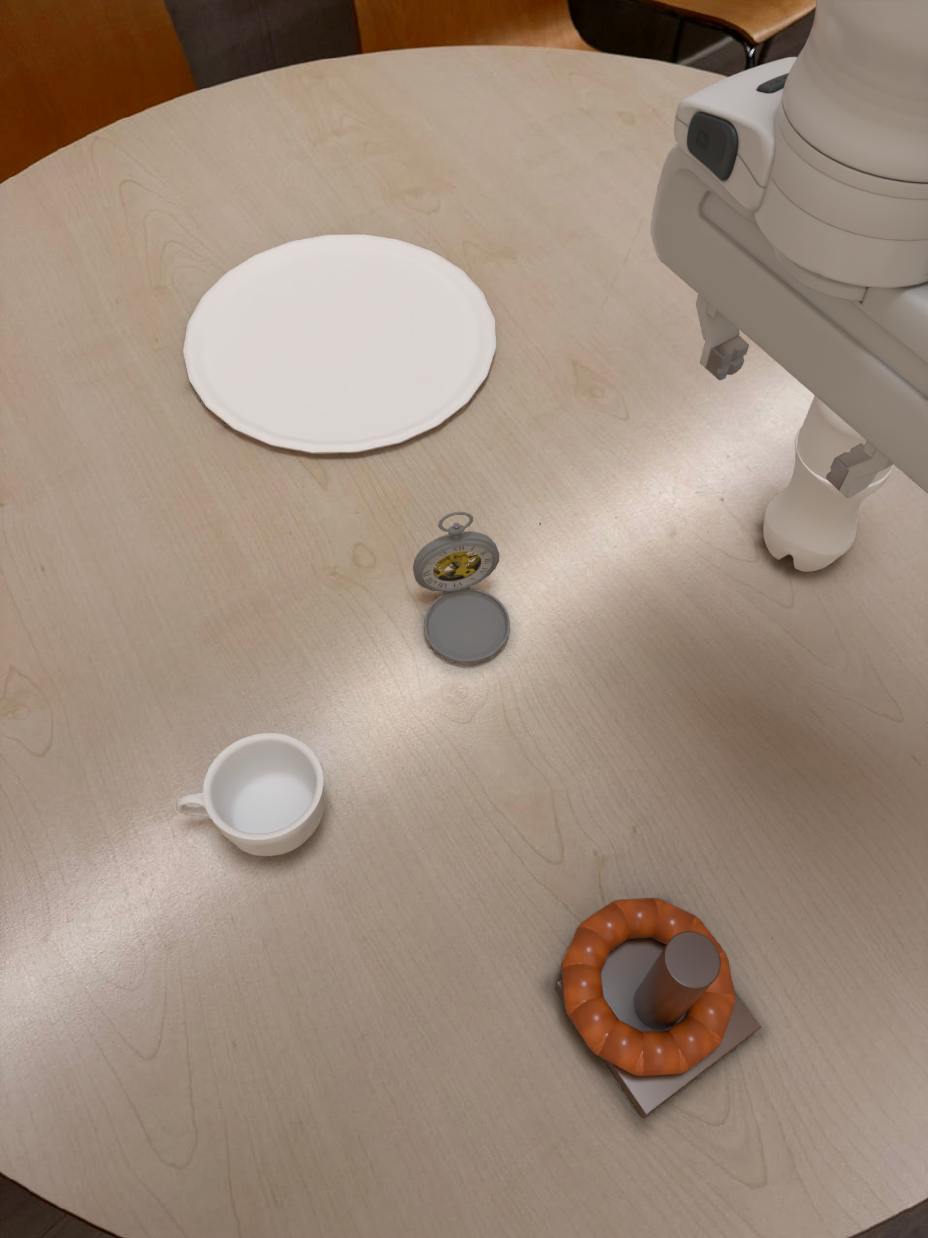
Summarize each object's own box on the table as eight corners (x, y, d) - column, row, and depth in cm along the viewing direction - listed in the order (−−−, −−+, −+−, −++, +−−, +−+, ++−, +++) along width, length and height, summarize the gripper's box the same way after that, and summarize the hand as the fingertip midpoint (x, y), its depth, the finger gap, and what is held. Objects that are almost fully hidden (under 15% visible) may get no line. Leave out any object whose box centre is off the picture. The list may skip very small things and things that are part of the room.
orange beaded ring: (763, 1014, 63) (773, 1005, 61) (629, 1115, 60) (635, 1109, 58) (657, 875, 68) (663, 863, 66) (528, 962, 65) (530, 952, 63)
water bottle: (740, 553, 84) (836, 313, 63) (778, 497, 87) (882, 250, 66) (822, 595, 82) (949, 361, 61) (858, 536, 85) (991, 294, 64)
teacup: (329, 759, 74) (320, 725, 69) (334, 862, 70) (326, 834, 65) (188, 773, 73) (171, 741, 69) (185, 878, 69) (166, 851, 64)
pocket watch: (469, 683, 77) (471, 611, 69) (390, 619, 80) (382, 542, 72) (540, 616, 80) (549, 539, 72) (461, 557, 83) (461, 476, 75)
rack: (755, 1031, 64) (814, 985, 54) (642, 1118, 61) (681, 1087, 51) (664, 911, 68) (702, 846, 58) (554, 987, 65) (573, 934, 55)
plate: (239, 502, 86) (237, 493, 85) (149, 288, 100) (146, 278, 99) (549, 400, 93) (550, 390, 92) (424, 212, 107) (423, 202, 106)
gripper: (1146, 301, 37) (980, 533, 49) (761, 41, 46) (699, 289, 58) (1029, 369, 35) (885, 594, 47) (652, 84, 44) (610, 332, 56)
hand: (780, 423), depth 52 cm, fingers open, 8 cm apart
